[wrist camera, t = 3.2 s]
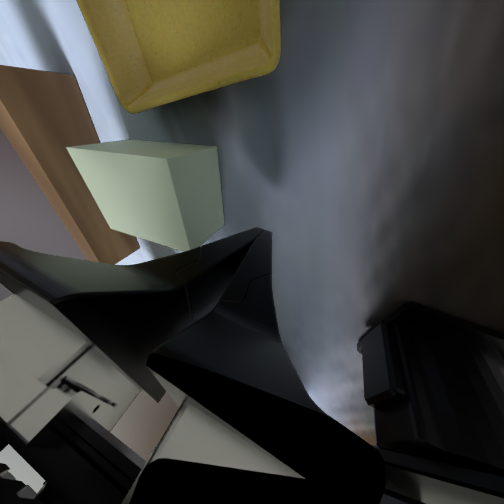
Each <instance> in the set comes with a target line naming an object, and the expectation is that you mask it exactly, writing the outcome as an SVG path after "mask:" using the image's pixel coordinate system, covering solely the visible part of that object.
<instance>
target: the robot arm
mask: <svg viewBox="0 0 504 504" xmlns="http://www.w3.org/2000/svg"><path fill="white" fill-rule="evenodd" d="M0 283H1V284H2V285H4V286H5V287H6V288H7V289H9V290H10V291H11V292H12V293H13V294H14V295H12V296H10V297H8V298H6V299H4V300H2V301H1V302H0V451H1V450H3V449H4V448H5V447H6V446H7V445H8V444H10V445H11V446H12V447H13V449H14V450H16V452H17V453H18V454H19V455H20V456H22V457H23V459H24V460H25V461H27V463H28V464H30V466H32V467H33V469H34V470H35V471H36V472H38V474H39V475H40V476H41V477H42V478H43V479H44V480H45V482H44V483H43V485H44V486H43V487H42V488H41V490H40V491H39V492H38V493H36V492H35V491H34V490H33V489H32V488H31V487H30V486H29V485H25V484H24V483H23V482H22V481H17V480H16V479H15V478H14V476H13V475H12V474H11V473H9V472H8V470H9V469H10V468H9V467H8V466H7V465H6V464H2V463H0V504H504V335H503V334H500V333H497V332H495V331H492V330H489V329H486V328H483V327H481V326H478V325H475V324H472V323H470V322H467V321H464V320H461V319H458V318H456V317H453V316H450V315H447V314H445V313H442V312H439V311H436V310H433V309H431V308H428V307H425V306H422V305H420V304H416V303H405V304H403V305H402V306H401V307H400V308H398V309H397V310H396V311H395V312H394V313H393V314H391V315H390V316H389V317H388V318H387V319H386V320H385V321H383V322H382V323H380V324H379V325H377V326H376V327H375V328H374V329H373V330H372V331H371V332H369V333H368V334H367V335H366V336H365V337H364V338H362V340H361V341H360V342H359V343H358V344H357V351H358V352H359V353H361V354H362V358H363V378H364V398H365V400H366V403H367V404H368V405H369V406H371V407H373V412H374V425H375V438H376V445H377V446H374V445H370V444H369V443H367V442H366V441H364V440H363V439H362V438H360V437H359V436H357V435H356V434H355V433H353V432H352V431H350V430H349V429H347V428H346V427H345V426H343V425H342V424H340V423H339V422H337V421H336V420H334V419H333V418H332V417H330V416H329V415H327V414H326V413H325V412H323V411H322V410H321V409H320V408H319V407H318V406H317V405H316V404H315V403H314V401H313V400H312V399H311V398H310V396H309V395H308V393H307V391H306V390H305V388H304V386H303V384H302V382H301V380H300V378H299V376H298V374H297V372H296V370H295V368H294V366H293V364H292V362H291V360H290V359H289V357H288V355H287V353H286V351H285V349H284V347H283V344H282V341H281V338H280V334H279V329H278V324H277V318H276V312H275V306H274V300H273V292H272V232H270V231H267V230H263V229H261V228H258V227H256V228H253V229H250V230H247V231H244V232H241V233H238V234H235V235H232V236H229V237H227V238H224V239H221V240H218V241H215V242H212V243H209V244H206V245H203V246H201V247H197V248H194V249H191V250H188V251H185V252H182V253H178V254H174V255H171V256H167V257H163V258H159V259H155V260H151V261H147V262H143V263H139V264H135V265H113V264H106V263H100V262H93V261H87V260H80V259H74V258H67V257H60V256H54V255H48V254H43V253H38V252H33V251H29V250H26V249H24V248H21V247H19V246H18V245H16V244H14V243H10V242H2V241H0ZM140 391H141V392H142V393H144V394H145V395H147V396H148V397H149V398H151V399H152V400H154V401H155V402H157V403H158V402H159V401H160V400H161V398H162V397H163V395H164V394H165V392H167V393H168V394H169V395H170V397H171V398H172V399H173V401H174V402H175V403H176V404H177V406H178V407H179V409H178V411H177V412H176V414H175V416H174V418H173V419H172V421H171V423H170V425H169V426H168V428H167V430H166V431H165V433H164V435H163V437H162V438H161V440H160V442H159V443H158V445H157V447H155V449H154V450H153V451H152V453H151V455H150V456H149V458H148V460H147V461H145V460H144V459H143V458H142V457H140V456H139V455H138V454H137V453H135V452H134V451H133V450H132V449H130V448H129V447H128V446H127V445H125V444H124V443H123V442H122V441H120V440H119V439H118V438H117V437H115V436H114V435H113V434H112V433H110V431H111V430H112V429H113V427H114V426H115V425H116V423H117V422H118V421H119V419H120V418H121V417H122V415H123V414H124V413H125V411H126V410H127V409H128V407H129V406H130V405H131V403H132V402H133V401H134V399H135V398H136V397H137V395H138V394H139V393H140ZM378 446H379V447H378Z"/></svg>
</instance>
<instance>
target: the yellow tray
mask: <svg viewBox="0 0 504 504" xmlns="http://www.w3.org/2000/svg"><path fill="white" fill-rule="evenodd" d="M76 1H77V3H78V5H79V8H80V10H81V12H82V14H83V17H84V19H85V21H86V24H87V26H88V29H89V31H90V33H91V35H92V38H93V40H94V43H95V45H96V47H97V50H98V52H99V55H100V57H101V60H102V62H103V64H104V66H105V69H106V71H107V74H108V76H109V79H110V81H111V84H112V86H113V88H114V91H115V93H116V96H117V97H118V99H119V102H120V104H121V105H122V106H123V108H124V109H125V110H127V111H128V112H129V113H131V114H135V113H139V112H142V111H145V110H148V109H152V108H155V107H158V106H161V105H164V104H167V103H171V102H174V101H177V100H181V99H184V98H187V97H191V96H194V95H197V94H200V93H203V92H207V91H211V90H215V89H218V88H221V87H224V86H228V85H231V84H234V83H238V82H242V81H245V80H249V79H252V78H256V77H259V76H264V75H267V74H269V73H271V72H272V71H274V70H275V69H276V67H277V66H278V64H279V60H280V56H281V28H280V0H76Z"/></svg>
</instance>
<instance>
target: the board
mask: <svg viewBox="0 0 504 504" xmlns="http://www.w3.org/2000/svg"><path fill="white" fill-rule="evenodd" d="M0 127H1V129H2V130H3V132H4V133H5V135H6V137H7V138H8V139H9V141H10V142H11V144H12V145H13V147H14V149H15V150H16V151H17V153H18V155H19V156H20V158H21V159H22V161H23V162H24V164H25V165H26V167H27V168H28V170H29V171H30V173H31V174H32V176H33V177H34V179H35V180H36V182H37V184H38V185H39V187H40V188H41V190H42V191H43V193H44V194H45V196H46V197H47V199H48V200H49V202H50V203H51V205H52V206H53V208H54V209H55V211H56V212H57V214H58V215H59V217H60V218H61V220H62V221H63V223H64V224H65V226H66V228H67V229H68V231H69V232H70V234H71V235H72V237H73V238H74V239H75V241H76V243H77V244H78V246H79V247H80V249H81V250H82V252H83V253H84V255H85V256H86V258H87V259H88V261H93V262H100V263H106V264H113V265H115V264H116V263H118V262H119V261H121V260H122V259H124V258H125V257H127V256H129V255H130V254H132V253H133V252H135V251H136V250H138V249H139V248H140V247H139V244H138V242H137V239H136V237H135V236H133V235H129V234H126V233H123V232H120V231H117V230H113V229H110V227H109V225H108V223H107V221H106V219H105V218H104V216H103V214H102V212H101V210H100V208H99V207H98V205H97V203H96V201H95V199H94V198H93V196H92V194H91V192H90V190H89V188H88V187H87V185H86V183H85V181H84V179H83V178H82V176H81V174H80V172H79V170H78V168H77V167H76V165H75V163H74V161H73V159H72V157H71V156H70V154H69V152H68V150H67V148H66V147H72V146H80V145H88V144H97V143H100V142H99V139H98V136H97V134H96V131H95V128H94V126H93V123H92V120H91V118H90V115H89V113H88V110H87V107H86V105H85V102H84V99H83V97H82V94H81V91H80V89H79V86H78V83H77V81H76V78H75V76H74V75H68V74H62V73H56V72H49V71H41V70H34V69H27V68H19V67H12V66H5V65H0Z"/></svg>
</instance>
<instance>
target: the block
mask: <svg viewBox="0 0 504 504" xmlns="http://www.w3.org/2000/svg"><path fill="white" fill-rule="evenodd" d="M66 148H67V150H68V152H69V154H70V156H71V157H72V159H73V161H74V163H75V165H76V167H77V168H78V170H79V172H80V174H81V176H82V178H83V179H84V181H85V183H86V185H87V187H88V188H89V190H90V192H91V194H92V196H93V198H94V199H95V201H96V203H97V205H98V207H99V208H100V210H101V212H102V214H103V216H104V218H105V219H106V221H107V223H108V225H109V227H110V229H113V230H117V231H120V232H123V233H126V234H129V235H133V236H136V237H139V238H142V239H145V240H148V241H152V242H155V243H158V244H161V245H164V246H168V247H171V248H174V249H177V250H180V251H184V252H185V251H188V250H191V249H194V248H197V247H199V246H201V245H202V244H203V243H204V242H205V241H206V240H207V239H209V238H210V237H211V236H212V235H213V234H214V233H215V232H216V231H218V230H219V229H220V228H221V227H222V226H223V225H224V224H225V223H224V213H223V203H222V193H221V183H220V172H219V162H218V152H217V146H206V145H193V144H180V143H167V142H155V141H142V140H122V141H113V142H105V143H97V144H88V145H80V146H72V147H66Z"/></svg>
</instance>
